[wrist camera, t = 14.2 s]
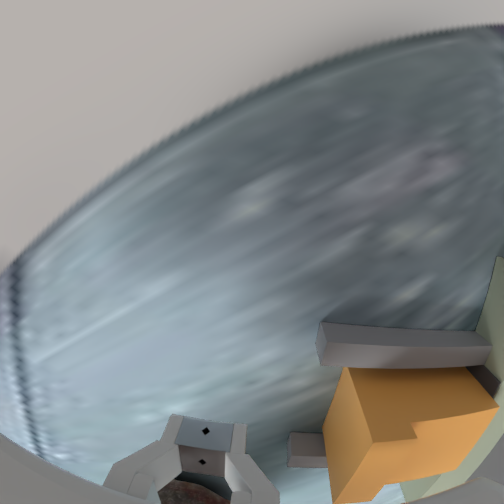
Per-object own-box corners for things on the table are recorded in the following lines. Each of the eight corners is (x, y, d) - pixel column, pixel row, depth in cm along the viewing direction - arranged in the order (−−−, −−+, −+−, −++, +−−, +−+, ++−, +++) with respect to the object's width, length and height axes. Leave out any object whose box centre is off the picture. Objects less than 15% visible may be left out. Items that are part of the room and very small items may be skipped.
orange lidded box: (321, 425, 15) (332, 504, 9) (344, 360, 14) (373, 442, 8) (429, 420, 15) (460, 480, 9) (459, 361, 14) (508, 417, 8)
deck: (274, 479, 16) (267, 593, 7) (338, 226, 13) (488, 323, 3) (479, 454, 15) (517, 522, 6) (565, 273, 12) (650, 315, 2)
